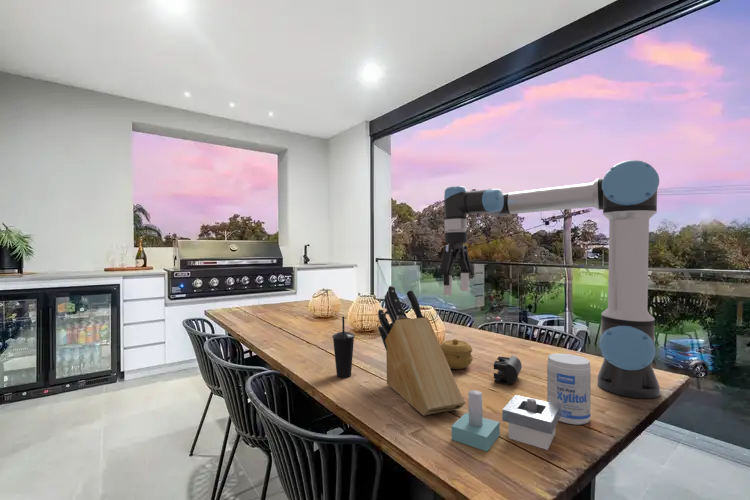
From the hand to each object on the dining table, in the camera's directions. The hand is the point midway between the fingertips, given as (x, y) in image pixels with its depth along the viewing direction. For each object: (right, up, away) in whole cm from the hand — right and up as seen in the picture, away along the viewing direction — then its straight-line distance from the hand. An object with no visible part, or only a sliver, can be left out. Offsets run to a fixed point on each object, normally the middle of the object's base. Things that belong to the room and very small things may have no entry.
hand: (456, 293), depth 123 cm
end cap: (+15, -27, -9) cm, 32 cm away
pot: (+1, -27, +5) cm, 28 cm away
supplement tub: (+20, -27, -34) cm, 48 cm away
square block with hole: (+7, -23, -43) cm, 49 cm away
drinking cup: (-39, -28, -3) cm, 48 cm away
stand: (+7, -27, -43) cm, 51 cm away
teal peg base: (-6, -27, -43) cm, 52 cm away
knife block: (-17, -28, -18) cm, 37 cm away
